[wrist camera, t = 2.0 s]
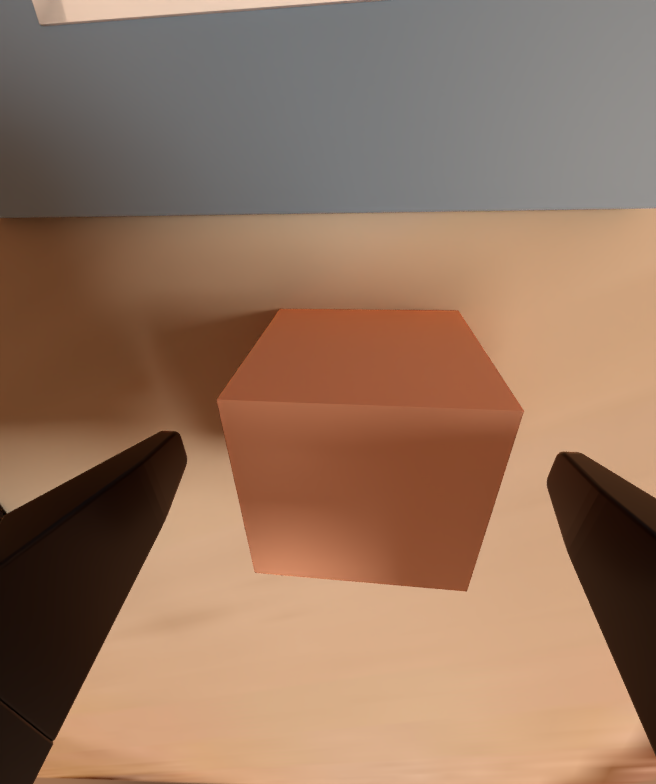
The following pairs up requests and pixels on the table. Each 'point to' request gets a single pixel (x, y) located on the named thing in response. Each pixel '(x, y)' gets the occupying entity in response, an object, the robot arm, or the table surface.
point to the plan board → (325, 106)
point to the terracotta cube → (368, 445)
